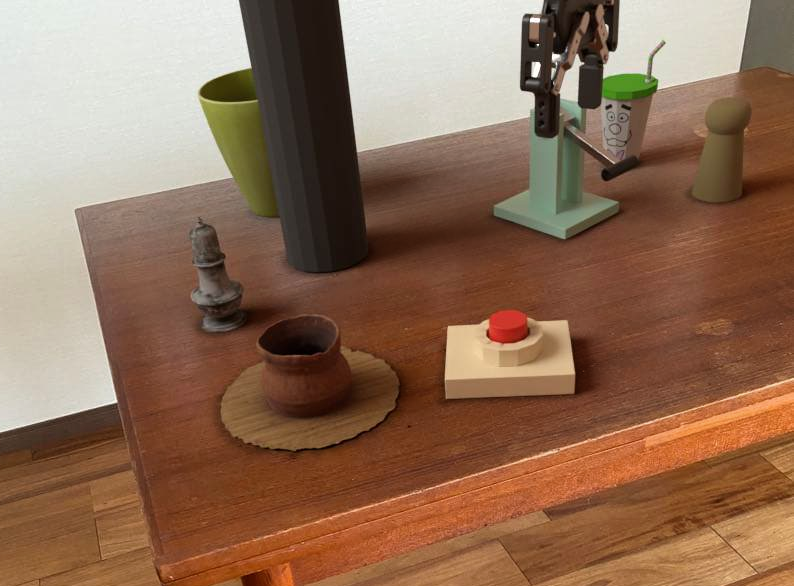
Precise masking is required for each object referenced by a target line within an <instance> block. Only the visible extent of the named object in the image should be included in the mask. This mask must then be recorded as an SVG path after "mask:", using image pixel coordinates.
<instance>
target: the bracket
mask: <svg viewBox="0 0 794 586" xmlns="http://www.w3.org/2000/svg"><path fill="white" fill-rule="evenodd" d="M560 106H561V107H562V108H564V109H565V110H566V111H568V112H569V113H571V114H572V115H573V116H575V120H574V123H573V126H574V127H575V128H577V129H578V130H580V131H581V132H582V133H584V134H585V135H586V132H587V131H586V130H587V129H586V128H587V112H588V111H587V110H588V109H585V108H580V107H579V106H578V101H575V100H570V99H565V98H561V97H560ZM534 117H535V107H533V108H531V109H530V110H529V183H528V185H529V186H528V189H526V190H523V191H522V192H520V193H518V194H515V195H514V196H511V197H509V198H507V199H505V200H503V201H501V202H499V203H496V204H495V205H493V216H494V217H497V218H501V219H502V220H503V219H504V220H506V221H509V222H512V223H515V224H518V225H520V226H524V227H527V228H530V229H532V230H535V231H538V232H541V233H544V234H547V235H551V236H554V237H556V238H559V239H562V240H565V241H566V240H568V239H569V238H571V237H573V236H575V235H577V234H579V233H581V232H583V231H585V230H587V229H589V228H590V227H592V226H594V225H596V224H599V223H600V222H602V221H604V220H606V219H608V218H609V217H612V216H614V215H615V214H617V213H619V211H620V202H619V201H617V200H614V199H611V198H608V197H604V196H600V195H597V194H594V193H590V192H586V191H584V173H585V171H584V170H585V154H586V151H584V150H583V149H582V148H580V147H579V146H578V145H576V144H575V143H574V142H572V141H571V140H569V139H568V138H567V137H565V138H563V130H564V114H562V113H560V121H559V134H558V135H557V136H555V137H554V138H544V137H538V136H536V135H535V132H534Z"/></svg>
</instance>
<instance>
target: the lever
mask: <svg viewBox="0 0 794 586" xmlns="http://www.w3.org/2000/svg"><path fill="white" fill-rule="evenodd" d="M560 113H562V114H564V130H563V138H565V137H567V138H568V139H569V140H571V141H572V142H574V143H575V144H576V145H578V146H579V147H580V148H582V149H583V150H584V151H585V153H587V154H588V155H590V156H591V157H593V159H595V160H597V161H598V162H599V163H601V164H602V165H603V166H605V168H603V169H602V170H601V172H600V177H601V180H603V181H604V182H610V181H612V180H614V179H616V178H618V177H620V176H622V175H624V174H625V173H628V172H630V171H632V170H634V169H636V168H637V167H638V166H639V160H638V158H637V157H636V156H634V155H631V156H629V157H627V158H625V159H623V160H619V159H618V158H617V157H615V156H614V155H612V154H611V153H610V152H608V151H607V150H606V149H604V148H603V146H602V145H600V144H598V143H597V142H596V141H595V140H593V139H592V138H591V137H589V136H588V135H586V133H585V134H584V133H582V132H581V131H580V130H578V129H577V128H575V127H574V126H573V123H574V120H575V116H573V115H572V114H571V113H569V112H568V111H566V110H565V109H564V108H562V107H561V106H560Z"/></svg>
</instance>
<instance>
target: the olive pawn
mask: <svg viewBox="0 0 794 586" xmlns="http://www.w3.org/2000/svg"><path fill="white" fill-rule="evenodd" d="M752 114H753V111H752V106H751V104H750V102H749V101H748V100H746V99H744V98H742V97H734V96H731V97H729V96H727V97H722V98H718V99H715V100H713V101H712V102H711V103H710V104H709V106H708V107H707V109H706V112H705V117H704V121H705V122H704V123H705V126H706V128H707V133H706V138H705V141H704V145H703V148H702V153H701V156H700V160H699V164H698V167H697V171H696V175H695V178H694V182H693V186H692V189H691V195H692V197H694V198H695V199H697V200H700V201H702V202H707V203H727V202H732V201H735V200H737V199H739V198H740V197H742V195H743V176H744V175H743V173H744V147H745V145H744V143H745V130H746V128H748V126H749V124H750V122H751V120H752Z"/></svg>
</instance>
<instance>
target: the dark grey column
mask: <svg viewBox="0 0 794 586" xmlns="http://www.w3.org/2000/svg"><path fill="white" fill-rule="evenodd" d="M238 4H239V9H240V14H241V20H242V26H243V30H244V36H245V42H246V47H247V51H248V52H247V53H248V58H249V62H250V63H249V64H250V68H252V74H253V79H254V84H255V90H256V95H257V100H258V105H259V111H260V116H261V121H262V127H263V132H264V137H265V143H266V148H267V153H268V159H269V164H270V169H271V175H272V180H273V185H274V191H275V196H276V201H277V207H278V212H279V216H278V217H279V223H280V227H281V233H282V238H283V243H284V249H285V254H286V255H285V256H286V259H287V263H288V264H289V265H290V266H291V267H292V268H293V269H295V270H298V271H301V272H305V273H316V274H321V273H331V272H333V273H334V272H336V271H340V270H345V269H347V268H351V267H352V266H354V265H356V264H359V263H360V262H361V261H362V260H363V259H364V258H366V256H367V254H368V252H369V249H370V248H369V239H368V231H367V223H366V215H365V214H366V213H365V207H364V206H365V205H364V197H363V189H362V182H361V174H360V164H359V158H358V157H359V156H358V149H357V141H356V131H355V124H354V117H353V107H352V99H351V98H352V97H351V90H350V83H349V75H348V66H347V57H346V50H345V41H344V33H343V26H342V25H343V24H342V17H341V8H340V0H238Z"/></svg>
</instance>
